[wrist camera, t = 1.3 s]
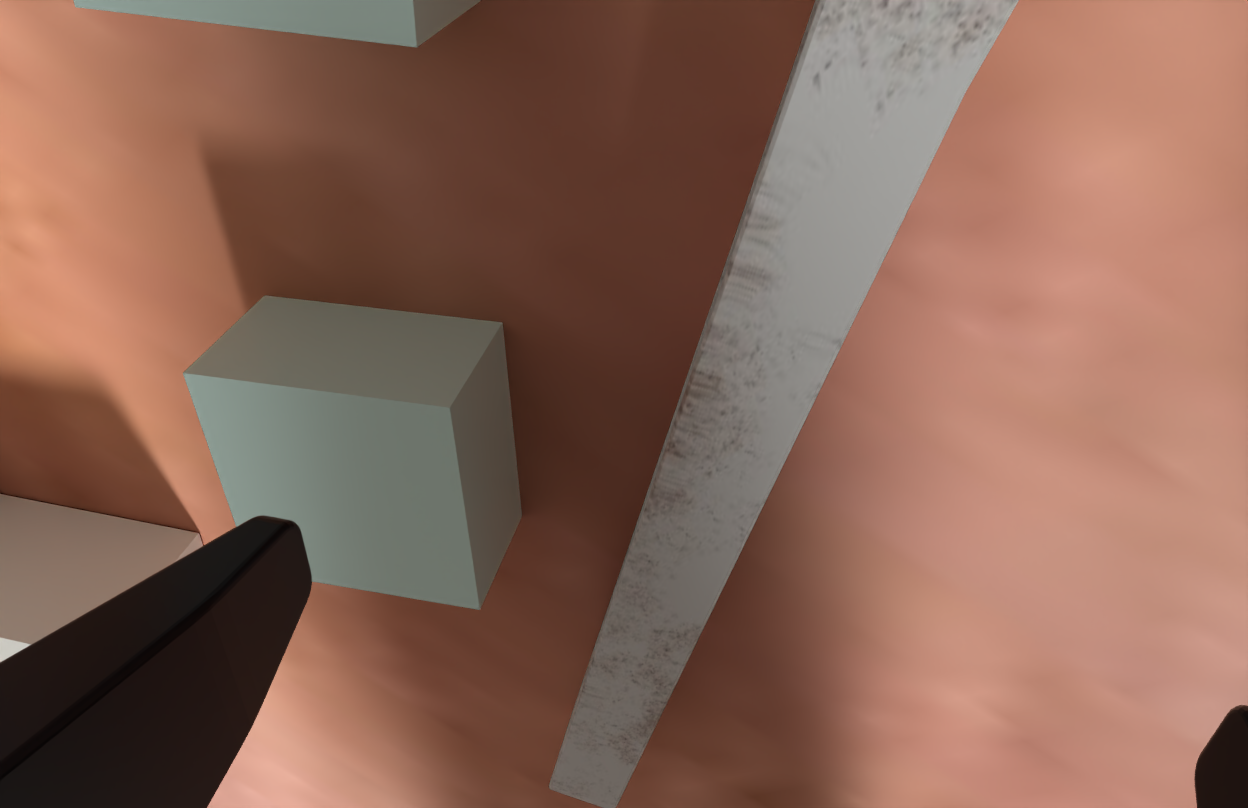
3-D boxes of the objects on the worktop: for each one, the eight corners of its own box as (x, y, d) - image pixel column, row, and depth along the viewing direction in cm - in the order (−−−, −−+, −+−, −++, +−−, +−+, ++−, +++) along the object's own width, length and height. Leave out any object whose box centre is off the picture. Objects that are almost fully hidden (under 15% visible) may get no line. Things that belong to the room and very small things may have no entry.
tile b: (506, 316, 18) (449, 407, 16) (525, 509, 21) (479, 609, 19) (269, 290, 19) (182, 373, 17) (319, 478, 22) (251, 570, 20)
